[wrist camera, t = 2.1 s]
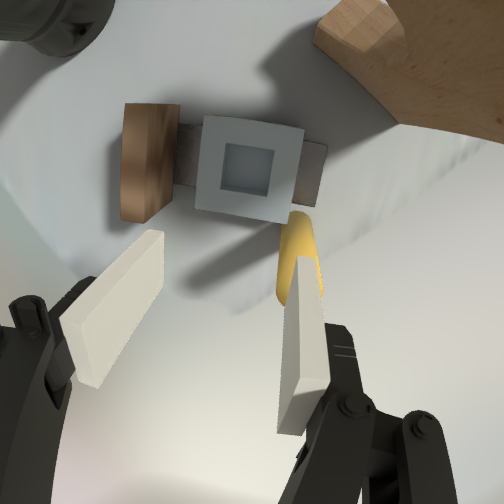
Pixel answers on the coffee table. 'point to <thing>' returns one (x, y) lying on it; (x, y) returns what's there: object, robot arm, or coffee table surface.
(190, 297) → the coffee table surface
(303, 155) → the dark grey flat board
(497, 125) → the decorative block
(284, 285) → the dowel
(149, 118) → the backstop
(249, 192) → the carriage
